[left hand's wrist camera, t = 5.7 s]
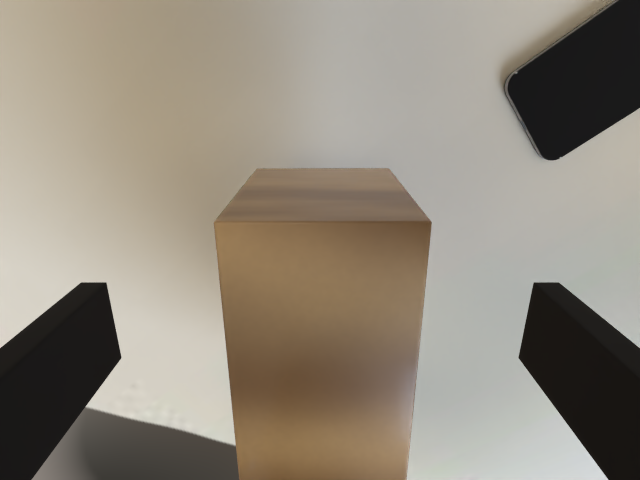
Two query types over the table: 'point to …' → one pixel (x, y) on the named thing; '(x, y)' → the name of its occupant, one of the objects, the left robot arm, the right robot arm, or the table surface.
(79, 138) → the table surface
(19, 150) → the table surface
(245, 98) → the table surface
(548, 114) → the smartphone
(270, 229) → the box
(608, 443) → the left robot arm
